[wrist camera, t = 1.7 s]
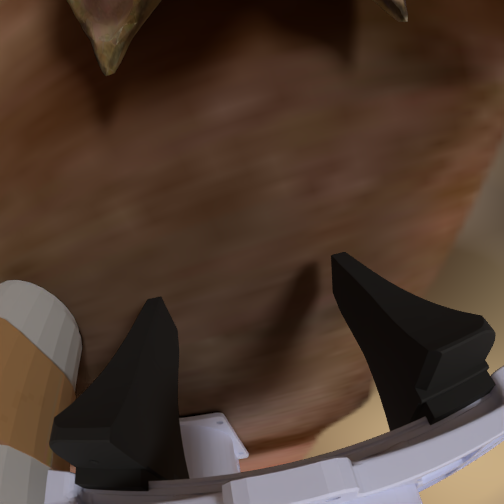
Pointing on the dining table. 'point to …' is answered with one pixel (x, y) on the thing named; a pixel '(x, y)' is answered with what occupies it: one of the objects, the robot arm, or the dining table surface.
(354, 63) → the dining table surface
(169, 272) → the dining table surface
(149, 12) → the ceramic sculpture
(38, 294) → the coffee cup
